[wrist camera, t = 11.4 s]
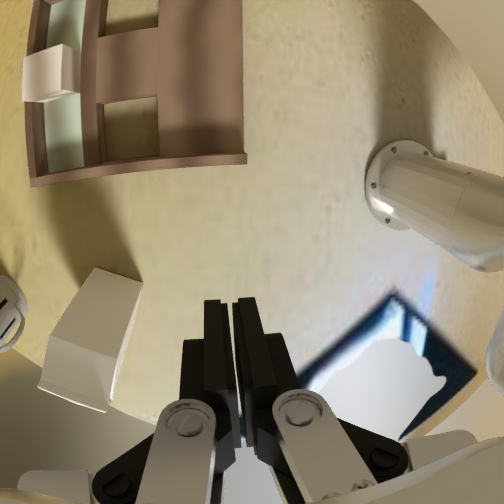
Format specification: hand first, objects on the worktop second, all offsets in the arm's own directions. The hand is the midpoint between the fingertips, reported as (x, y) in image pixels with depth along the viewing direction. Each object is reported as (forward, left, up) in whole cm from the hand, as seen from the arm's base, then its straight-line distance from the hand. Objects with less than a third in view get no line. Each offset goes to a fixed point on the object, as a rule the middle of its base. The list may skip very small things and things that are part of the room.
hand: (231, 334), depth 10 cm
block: (+18, -15, -25) cm, 34 cm away
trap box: (+9, -15, -27) cm, 32 cm away
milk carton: (+15, +14, -27) cm, 34 cm away
